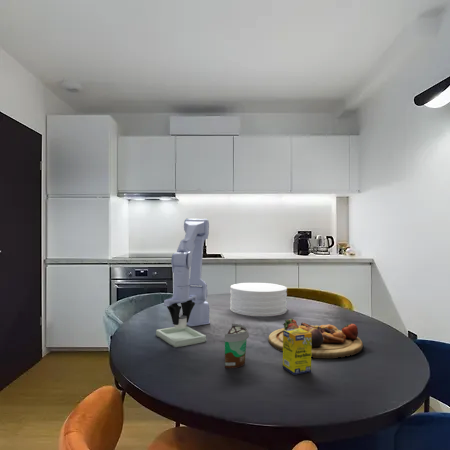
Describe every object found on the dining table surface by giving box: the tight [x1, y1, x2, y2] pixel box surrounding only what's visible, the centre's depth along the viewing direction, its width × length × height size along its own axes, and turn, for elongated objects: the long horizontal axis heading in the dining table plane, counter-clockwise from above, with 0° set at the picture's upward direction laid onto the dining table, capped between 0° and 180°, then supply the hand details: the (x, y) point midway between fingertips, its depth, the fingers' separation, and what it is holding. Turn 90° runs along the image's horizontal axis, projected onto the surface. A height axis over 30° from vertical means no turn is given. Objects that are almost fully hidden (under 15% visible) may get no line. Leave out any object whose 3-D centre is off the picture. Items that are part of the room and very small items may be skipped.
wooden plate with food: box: [267, 318, 364, 359], centre depth 123 cm, size 32×32×8 cm
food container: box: [223, 323, 250, 369], centre depth 104 cm, size 12×6×10 cm, turn 168°
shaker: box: [173, 314, 188, 329], centre depth 126 cm, size 4×4×4 cm
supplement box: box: [282, 328, 312, 376], centre depth 99 cm, size 6×6×11 cm
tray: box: [155, 325, 207, 348], centre depth 126 cm, size 12×16×2 cm
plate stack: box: [229, 282, 288, 317], centre depth 175 cm, size 28×28×12 cm
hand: (180, 323), depth 126 cm, fingers closed on shaker, 4 cm apart
